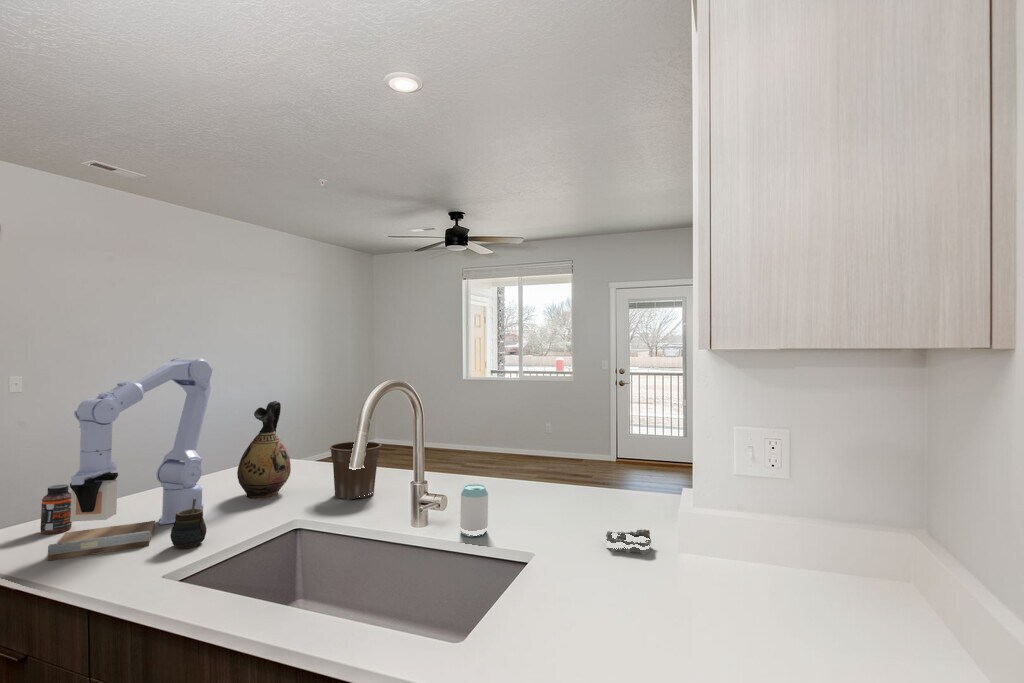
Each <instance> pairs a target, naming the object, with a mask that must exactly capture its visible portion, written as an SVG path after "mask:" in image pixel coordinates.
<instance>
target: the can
mask: <svg viewBox="0 0 1024 683" xmlns="http://www.w3.org/2000/svg"><path fill="white" fill-rule="evenodd" d="M488 512H489V492H488V490H487V488H486V485H483V484H478V483H473V484H466V485H464V486H463V489H462V491H461V492H460V520H459V521H460V523H459V524H460V525H459V526H460V527H461V528H462V529H464V530H468V531H477V530H482V529H485V528H487V526H488V525H489V524H488V523H489V520H488V519H489V518H488V517H489V513H488ZM460 527H459V528H460ZM488 527H489V526H488ZM459 532H460V533H461V534H462V535H463V536H465V537H469V538H474V537H473V535H470V536H467V535H469V534H466V533H463V532H462V531H461V530H460V529H459ZM479 535H482V534H479ZM479 535H477V536H479ZM482 536H483V535H482Z"/></svg>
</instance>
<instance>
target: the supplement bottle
mask: <svg viewBox="0 0 1024 683" xmlns="http://www.w3.org/2000/svg"><path fill="white" fill-rule="evenodd" d="M69 488H70V484H64V483H63V484H62V483H61V484H54V485H51V486H48V487H47V494H46V495H44V496H43V497H42V499H41V506H40V507H41V510H40V512H41V515H40V527H39V528H40V533H41V534H44V535H54V534H59V533H65V532H66V531H67V532H68V531H69V530H70V529H71V528H72V524H73V522H70V518H71V492H70V491H69V490H70V489H69Z"/></svg>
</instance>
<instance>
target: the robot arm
mask: <svg viewBox="0 0 1024 683" xmlns="http://www.w3.org/2000/svg"><path fill="white" fill-rule="evenodd" d="M212 373H213V368H212V366H211V364H210V363H209V362H208V360H206V359H204V358H181V357H174V358H172V359H169V361H165V362H163V364H162V365H161V366H160V367H158V368H156V369H155V370H152V371H151V372H150V373H148V374H146V375H144V376H143V377H141V378H139V379H138V380H136V381H131V380H129V381H120V382H118V383H117V384H116V385H117V386H116V387H113V388H111V389H110V390H107V391H106V392H105V391H104V392H100V393H98V396H97V397H96V398H91V397H90V398H87V399H84V400H83V401H81V402H80V403H79V405H78V406H77V408H76V410H74V413H73V414H74V418H75V419H76V420H77V421H78V423H79V428H80V440H79V467H78V468H79V469H78V470H77V472H76V473H75V474H74V475H72V476H71V479H70V480H71V481H70V483H69V488H70V490H71V491H72V490H73V491H74V493H75V494H76V496H77V499H78V502H79V505H80V509H81V512H93V511H94V508H95V504H96V498H97V494H98V491H99V488H100V486H101V484H102V483H103V481H106V480H117V479H118V477H119V472H116V471H117V470H118V469H117V461H113V462H112V443H113V442H112V441H113V423H114V422H115V421H116V420H117V419H118V417H119V415H120V413H121V412H123V411H125V410H127V409H129V408H130V407H132V406H134V405H136V404H137V403H139V402H140V401H142V400H143V399H144V396H145V393H147V392H150V391H151V390H154V389H156V388H158V387H160V386H161V385H163V384H165V383H168V382H170V381H173V382H174V383H175V384H176V385H178V386H180V387H181V388H182V390H184V392H185V393H186V396H185V400H184V404H183V408H182V412H181V416H180V418H179V419H180V420H179V423H178V427H177V431H176V436H175V439H174V443H173V447H172V450H170V451H169V452H167V453H166V454H165V455H163V459H162V462H161V464H160V465H159V466H158V468H157V470H156V480H157V481H158V482H159V483H161V484H160V487H161V488H162V506H161V508H162V510H161V512H162V513H161V515H160V519H159V522H158V524H159V525H160V526H161V525H169V524H174V523H175V520H176V519H175V517H176V515H175V514H176V513H178V512H179V511H182V510H187V509H192V505H193V499H196V503H195V508H194V509H202V510H203V511H204V504H203V484H202V483H201V484H197V483H198V482H199V480H201V476H202V461H203V460H202V459H203V458H202V457H201V456H200V455H199V453H197V447H198V443H199V438H200V434H201V430H202V426H203V422H204V420H205V419H204V418H205V414H206V411H207V406H208V403H209V402H208V401H209V398H210V394H211V378H212Z"/></svg>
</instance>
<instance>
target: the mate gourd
mask: <svg viewBox="0 0 1024 683" xmlns="http://www.w3.org/2000/svg"><path fill="white" fill-rule="evenodd" d="M195 503H196V499H193V505H192V509H187V510H182V511H179V512H178V513H176V514H175V515H176V517H175V519H176V520H175V523H173V526H172V528H171V531H170V535H169V537H170V540H171V543H172V545H173V546H174V547H175V548H177V549H183V550H184V549H185V550H186V549H191V548H195V547H197V546H199V545H200V544H201V543H202V542H203V541H204V540H205V539H206V535H207V526H206V523H205V519H204V509H203V510H202V509H194V508H195Z"/></svg>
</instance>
